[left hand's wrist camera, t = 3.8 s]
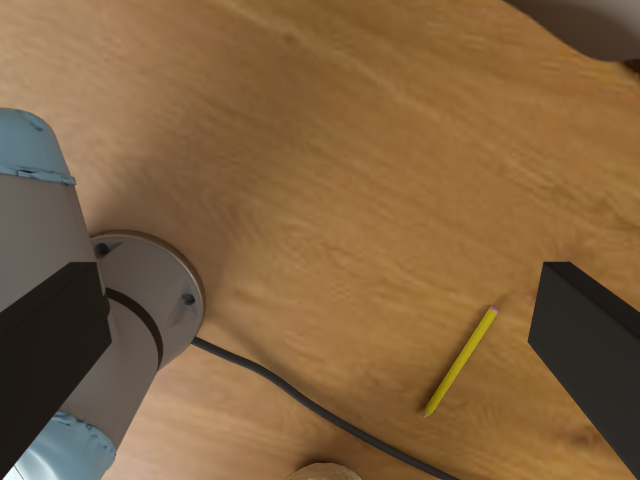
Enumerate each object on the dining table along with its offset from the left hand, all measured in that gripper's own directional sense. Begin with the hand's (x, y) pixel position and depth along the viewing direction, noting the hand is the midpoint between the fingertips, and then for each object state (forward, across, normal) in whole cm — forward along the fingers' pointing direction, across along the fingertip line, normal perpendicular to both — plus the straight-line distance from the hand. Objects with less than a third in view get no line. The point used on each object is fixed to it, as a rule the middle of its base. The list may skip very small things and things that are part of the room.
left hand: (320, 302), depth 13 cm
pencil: (+30, -16, +24) cm, 42 cm away
